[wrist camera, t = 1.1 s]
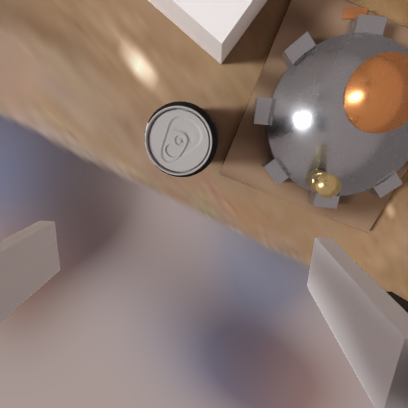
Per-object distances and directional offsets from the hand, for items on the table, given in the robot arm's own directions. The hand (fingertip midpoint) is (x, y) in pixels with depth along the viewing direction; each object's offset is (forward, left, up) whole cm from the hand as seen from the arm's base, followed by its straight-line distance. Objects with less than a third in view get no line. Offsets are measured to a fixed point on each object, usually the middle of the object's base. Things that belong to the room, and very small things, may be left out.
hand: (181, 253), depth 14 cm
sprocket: (-12, +12, -21) cm, 27 cm away
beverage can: (-4, -3, -23) cm, 23 cm away
